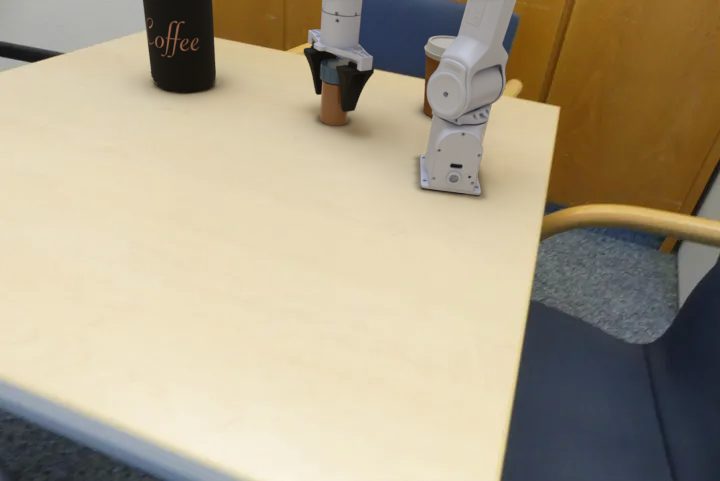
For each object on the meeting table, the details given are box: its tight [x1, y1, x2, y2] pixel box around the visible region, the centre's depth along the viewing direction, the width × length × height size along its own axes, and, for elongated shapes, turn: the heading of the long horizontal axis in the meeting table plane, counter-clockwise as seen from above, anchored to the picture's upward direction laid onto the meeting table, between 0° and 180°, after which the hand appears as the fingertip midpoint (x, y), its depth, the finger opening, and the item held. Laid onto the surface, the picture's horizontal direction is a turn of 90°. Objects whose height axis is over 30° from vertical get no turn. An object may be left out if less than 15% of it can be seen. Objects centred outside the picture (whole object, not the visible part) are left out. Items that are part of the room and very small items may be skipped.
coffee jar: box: [142, 0, 217, 94], centre depth 91 cm, size 11×11×18 cm
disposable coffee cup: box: [423, 35, 457, 118], centre depth 94 cm, size 10×10×12 cm
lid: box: [320, 58, 348, 84], centre depth 85 cm, size 5×5×2 cm
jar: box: [319, 80, 349, 126], centre depth 87 cm, size 4×4×8 cm
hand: (334, 101), depth 88 cm, fingers open, 7 cm apart
